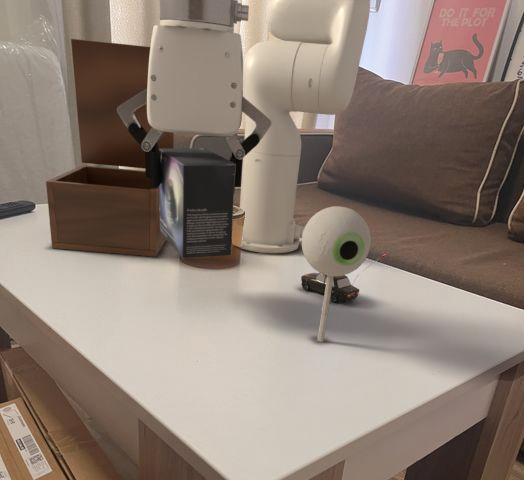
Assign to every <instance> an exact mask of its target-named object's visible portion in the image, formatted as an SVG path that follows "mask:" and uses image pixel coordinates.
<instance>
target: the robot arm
mask: <svg viewBox="0 0 524 480" xmlns="http://www.w3.org/2000/svg"><path fill="white" fill-rule="evenodd" d="M370 10H371V0H267V5H266V13H265V17H266V18H265V21H266V26H267V29H268V31H269V33H270V35H272V36H273V37H274V38H276V39H269V40H263V41H260V42H257V43H255V44H254V45H253V46H251V47H250V48H249V50H248V51H247V52H246V54H245V56H244V53H243V43H242V42H243V41H242V35H241V33H237V32H235V25H236V24H238V23H240V22H241V23H242V22H243V21H244V22H249V17H250V16H249V15H250V5H246V4H243V3H242V2H239V0H159V24H156V25H155V24H154V25H153V27H152V28H153V29H152V32H151V33H152V34H151V40H150V46H149V47H150V55H149V68H148V85H147V88H146V89H145V90H143V91H142V92H140V93H138V94H137V95H135V96H134V97H132V98H131V99H129V100H127V101H126V102H124V103H123V104H121V105H119V106H118V107H117V112H118V114H119V116H120V117H121V119H122V121H123V122H124V124H125V126H126V127H127V128H128V131H129V133H130V134H131V135H132V136H133V137H134V139H135V140H136V141H137V142H138V143H139V144H140V145H141V147H142V149H143V150H144V151H145V169H144V171H145V175H146V179H148V180H150V182H151V189H156V188H158V187H159V186H160V184H161V151H159V149H158V144H157V143H158V142H159V140H160V139H161V138H162V136H163V135H164V133H165V132H173V133H174V134H184V135H185V134H186V135H195V136H196V135H197V136H209V137H219V138H224V140H225V142H226V144H227V145H228V147H229V149H230V150H231V156H230V157H229V159H228V160H229V161H231V162H233V163H235V164H236V172H235V182H234V193H236V192H235V191H236V188H240V197H239V209H240V208H241V209H243V210H244V211H245V222H244V229H243V240H242V246H241V248H240V249H241V250H245V251H250V252H253V253H254V252H255V253H261V254H262V253H263V254H286V253H292V252H294V251H296V250H298V249H299V246H300V239H302V235H303V231H304V229H305V226H306V225H298V224H297V223H296V220H295V217H294V213H295V205H296V198H297V197H296V196H297V189H298V180H299V179H298V178H299V173H300V172H299V171H300V162H301V155H302V138H301V134H300V131H299V129H298V127H297V125H296V124H295V121H294V120H293V118H292V115H291V112H294V113H297V112H298V113H306V114H307V113H308V114H318V115H329V116H333V115H340V114H341V113H343V112H344V111H346V109H347V108H348V107H349V105H350V103H351V101H352V97H353V93H354V89H355V86H356V82H357V76H358V72H359V67H360V62H361V58H362V54H363V48H364V44H365V39H366V35H367V30H368V25H369V19H370V12H371V11H370ZM146 104H147V117H148V122H149V124H150V126H152V128H151V130H150V131H149V133H147V131H146V130H145V129H144V128H143V127H142V126H141V125H140V124H139V123H138V121H137V119H136V117H135V111H136V110H138V109H139V108H141V107H143V106H144V105H146ZM243 114H244V115H245V117H244V119H245V120H244V138H243V139H244V140H243V141H242V140H241V138H240V136H239V135H238V132H239V130H240V129H241V126H242V121H243Z"/></svg>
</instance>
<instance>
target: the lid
mask: <svg viewBox="0 0 524 480" xmlns="http://www.w3.org/2000/svg"><path fill="white" fill-rule="evenodd" d="M70 44H71V55H72V57H71V58H72V66H73V67H72V68H73V78H74V90H75V101H76V112H77V113H76V114H77V124H78V125H77V126H78V136H79V146H80V147H79V148H80V159H81V163H82V164H90V165H91V164H92V165H101V166H102V165H103V166H112V167H113V166H115V167H124V168H132V169H133V168H134V169H135V168H136V169H144V170H145V151H144V150H143V149H142V147H141V145H140V144H139V143H138V142H137V141H136V140H135V139H134V137H133V136H132V135H131V134H130V133H129V131H128V128H127V127H126V126H125V124H124V122H123V121H122V119H121V117H120V116H119V114H118V112H117V107H118V106H119V105H121V104H123V103H124V102H126V101H127V100H129V99H131V98H132V97H134V96H135V95H137V94H138V93H140V92H142V91H143V90H145V89H146V88H147V85H148V68H149V55H150V46H147V45H146V46H145V45H137V44H128V43H127V44H126V43H119V42H118V43H117V42H109V41H108V42H106V41H99V40H98V41H97V40H88V39H78V38H71V39H70ZM135 117H136V119H137V121H138V123H139V124H140V125H141V126H142V127H143V128H144V129H145V130H146V131H147V133H149V131H150V130H151V128H152V126H150V124H149V122H148V117H147V104H146V105H144V106H143V107H141V108H139V109H138V110H136V111H135ZM174 141H175V133H173V132H165V133H164V135H163V136H162V138H161V139H160V140H159V142H158V143H157V144H158V149H159V148H175V142H174Z"/></svg>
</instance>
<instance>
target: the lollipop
mask: <svg viewBox="0 0 524 480" xmlns="http://www.w3.org/2000/svg"><path fill="white" fill-rule="evenodd" d="M304 226H305V229H304V231H303V235H302V238H301V249H302V250H301V251H302V253H303V256H304V258H305V260H306V262H307V263H308V264H309V265H310V267H311V268H312V269H313V270H315V271H317V273H322V274H324V275H327V281H326V288H325V294H324V293H323V294H324V295H323V301H322V308H321V313H320V314H321V315H320V321H319V328H318V333H317V341H318V342H320V343H323V342H324V340H325V333H326V326H327V320H328V316H329V315H328V314H329V308H330V302H331V300H330V296H331V290H332V283H333V277H334V276H343V275H346V276H347V275H349V274H351V273H353V272H355V271H357V270H358V269H359V268H361V266H362V265H363V264H364V263H365V261H366V260H367V258H368V256H369V252H370V249H371V246H372V244H371V243H372V238H371V231H370V228H369V226H368V224H367V221H365V219H364V218H363V217H362V216H361V215H360V213H358V212H357V211H356V210H353V209H352V208H350V207H345V206H338V205H337V206H335V205H333V206H329V207H325V208H323V209H321V210H320V211H318V212H316V213H315V214H313V215H312V217H310V219H309V220H308V221H307V223H306V224H305V225H304Z"/></svg>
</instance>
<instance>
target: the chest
mask: <svg viewBox="0 0 524 480" xmlns="http://www.w3.org/2000/svg"><path fill="white" fill-rule="evenodd" d="M45 185H46V196H47V207H48V208H47V209H48V218H49V228H50V229H49V230H50V240H51V248H52V249H57V250H58V249H60V250H71V251H80V252H81V251H82V252H93V253H94V252H95V253H106V254H116V255H130V256H139V257H140V256H141V257H153V258H156V257H157V256H158V254H159V253H160V251H161V250H162V248H163V246H164V244H165V243H166V241H167V239H166V238H165V237H164V236H163V235H162V234H161V233H160V204H159V187H158V188H156V189H151V182H150V180H148V179H146V175H145V170H139V169H128V168H119V167H107V166H98V165H97V166H96V165H86V164H82V165H79V166H77V167H75V168H73V169H70V170H69V171H66V172H64V173H62V174H60V175H57V176H55V177H53V178H50V179H49V180H46V181H45Z"/></svg>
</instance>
